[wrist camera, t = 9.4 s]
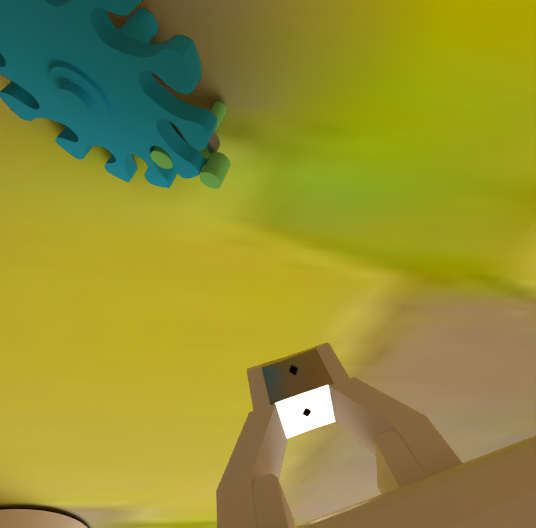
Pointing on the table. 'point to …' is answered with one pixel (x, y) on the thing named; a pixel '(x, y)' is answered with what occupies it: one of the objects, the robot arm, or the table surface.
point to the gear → (110, 87)
